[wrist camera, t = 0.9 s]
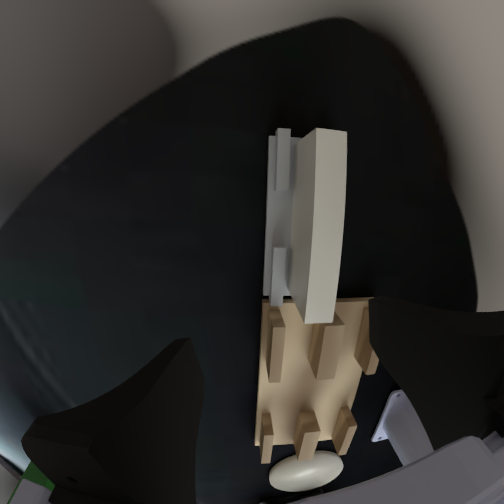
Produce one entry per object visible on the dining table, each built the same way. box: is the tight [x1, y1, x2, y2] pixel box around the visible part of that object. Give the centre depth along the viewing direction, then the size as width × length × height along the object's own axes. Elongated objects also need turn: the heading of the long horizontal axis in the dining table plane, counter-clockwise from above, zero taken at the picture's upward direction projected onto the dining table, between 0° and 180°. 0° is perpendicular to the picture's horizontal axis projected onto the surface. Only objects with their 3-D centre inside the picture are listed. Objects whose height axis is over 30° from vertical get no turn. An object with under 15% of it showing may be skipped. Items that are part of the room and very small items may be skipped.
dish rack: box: [255, 297, 379, 463], centre depth 21 cm, size 9×16×4 cm, turn 178°
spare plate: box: [269, 451, 343, 492], centre depth 26 cm, size 9×9×1 cm
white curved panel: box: [288, 128, 347, 324], centre depth 16 cm, size 2×10×6 cm, turn 178°
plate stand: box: [263, 128, 302, 306], centre depth 19 cm, size 5×12×2 cm, turn 178°
